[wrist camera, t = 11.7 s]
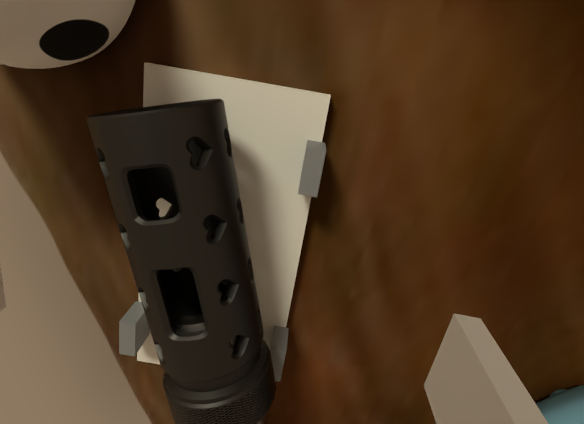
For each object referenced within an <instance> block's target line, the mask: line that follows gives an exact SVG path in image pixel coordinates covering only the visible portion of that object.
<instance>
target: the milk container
mask: <svg viewBox="0 0 584 424" xmlns="http://www.w3.org/2000/svg"><path fill="white" fill-rule="evenodd" d="M134 3H135V0H0V64H1V65H6V66H11V67H17V68H27V69H46V68H55V67H61V66H66V65H70V64H74V63H77V62H80V61H83V60H85V59H88V58H90V57H92V56H94V55H96V54H98V53H99V52H100V51H102V50H103V49H105V48H106V47H107V46H108V45H109V44H110V43H111V42H112V41H113V40H114V39H115V38H116V37H117V36H118V34H119V33H120V32H121V30H122V29H123V27H124V26H125V24H126V22H127V20H128V18H129V16H130V14H131V11H132V9H133V6H134Z"/></svg>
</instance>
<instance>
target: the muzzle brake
mask: <svg viewBox="0 0 584 424" xmlns="http://www.w3.org/2000/svg"><path fill="white" fill-rule="evenodd" d="M86 120H87V124H88V127H89V130H90V134H91V137H92V140H93V144H94V147H95V150H96V153H97V157H98V160H99V163H100V167H101V170H102V173H103V177H104V180H105V183H106V187H107V190H108V193H109V196H110V200H111V203H112V206H113V210H114V213H115V216H116V220H117V223H118V226H119V229H120V232H121V236H122V239H123V243H124V246H125V249H126V253H127V256H128V259H129V262H130V266H131V269H132V272H133V276H134V279H135V282H136V286H137V289H138V292H139V295H140V299H141V302H142V305H143V309H144V312H145V315H146V319H147V322H148V325H149V329H150V332H151V335H152V338H153V342H154V344H155V348H156V352H157V355H158V358H159V362H160V365H161V366H162V368H163V370H164V371H165V373H164V378H163V386H164V390H165V394H166V397H167V400H168V404H169V407H170V410H171V413H172V417H173V420H174V422H175V424H266V421H267V419H268V417H269V414H270V409H271V404H272V402H273V400H274V396H275V391H276V381H275V376H274V370H273V364H272V358H271V353H270V350H269V347H268V345H267V343H266V342H265V340H263V334H264V330H263V324H262V318H261V313H260V307H259V301H258V295H257V290H256V284H255V278H254V272H253V267H252V261H251V255H250V249H249V244H248V238H247V232H246V227H245V221H244V215H243V209H242V204H241V198H240V192H239V186H238V181H237V175H236V169H235V163H234V158H233V152H232V146H231V141H230V135H229V129H228V123H227V117H226V112H225V106H224V101H223V100H222V99H207V100H197V101H188V102H180V103H172V104H164V105H156V106H149V107H142V108H135V109H128V110H121V111H115V112H109V113H103V114H97V115H93V116H89V117H88V118H87V119H86ZM160 198H163V199H164V200H166V201H167V202H169V203H170V204H172V205H171V206H170V208H169V210H168V212H167V214H166V215H165V216H163V217H160V216H159V211H160V210H159V209H158V208H157V207H156V202H157V200H158V199H160Z"/></svg>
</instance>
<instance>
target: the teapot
mask: <svg viewBox="0 0 584 424" xmlns="http://www.w3.org/2000/svg"><path fill="white" fill-rule="evenodd" d="M535 404H536V405H537V407H538V408H539V410H540V411H541V413H542V414H543V416H544V418H545V419H546V421H547V422H548V424H584V385H580V386H577V387H574V388H571V389H568V390H566V389H560V390H556V391H554V392H553V393H552V394H551V395H550V396H549V398H547V399H544V400H542V401H540V402H537V403H535Z"/></svg>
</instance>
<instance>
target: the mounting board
mask: <svg viewBox="0 0 584 424" xmlns="http://www.w3.org/2000/svg"><path fill="white" fill-rule="evenodd" d="M330 97H331V95H329V94H324V93H318V92H312V91H307V90H301V89H295V88H290V87H284V86H278V85H273V84H267V83H261V82H256V81H250V80H244V79H239V78H233V77H227V76H222V75H216V74H210V73H205V72H199V71H193V70H188V69H182V68H176V67H171V66H165V65H159V64H154V63H145V62H144V89H143V107H149V106H156V105H164V104H172V103H180V102H188V101H197V100H207V99H222V100H223V101H224V106H225V112H226V117H227V123H228V129H229V135H230V141H231V146H232V152H233V158H234V163H235V169H236V175H237V181H238V186H239V192H240V198H241V204H242V209H243V215H244V221H245V227H246V232H247V238H248V244H249V249H250V255H251V261H252V267H253V272H254V278H255V284H256V290H257V295H258V301H259V307H260V313H261V318H262V324H263V330H264V334H263V340H265V342H266V343H267V345H268V347H269V350H270V353H271V358H272V364H273V370H274V376H275V381H278V382H280V381H281V376H282V371H283V366H284V361H285V356H286V350H287V341H288V331H289V328H286V325H287V320H288V315H289V310H290V305H291V299H292V294H293V289H294V284H295V279H296V274H297V268H298V263H299V258H300V253H301V248H302V242H303V237H304V232H305V227H306V222H307V217H308V211H309V206H310V201H311V196H312V197H317V195H318V190H319V185H320V180H321V175H322V170H323V165H324V159H325V154H326V145H325V143H323V142H322V139H323V134H324V129H325V123H326V118H327V113H328V108H329V103H330ZM171 205H172V204H170V203H169V202H167V201H166V200H164V199H163V198H160V199H158V200H157V202H156V207H157V208H158V209H159V210H160V211H159V216H160V217H163V216H165V215H166V214H167V212H168V210H169V208H170V206H171ZM119 354H124V355H129V356H136V354H137V361H143V362H149V363H154V364H160V362H159V358H158V355H157V352H156V348H155V344H154V342H153V338H152V335H151V332H150V329H149V325H148V322H147V319H146V315H145V312H144V309H143V305H142V302H141V299H140V295H139V302H138V301H135V303H134V304H133V305H132V306H131V308H130V309H129V310H128V311H127V313H126V314H125V315H124V316H123V318H122V319H121V320H120V321H119Z"/></svg>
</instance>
